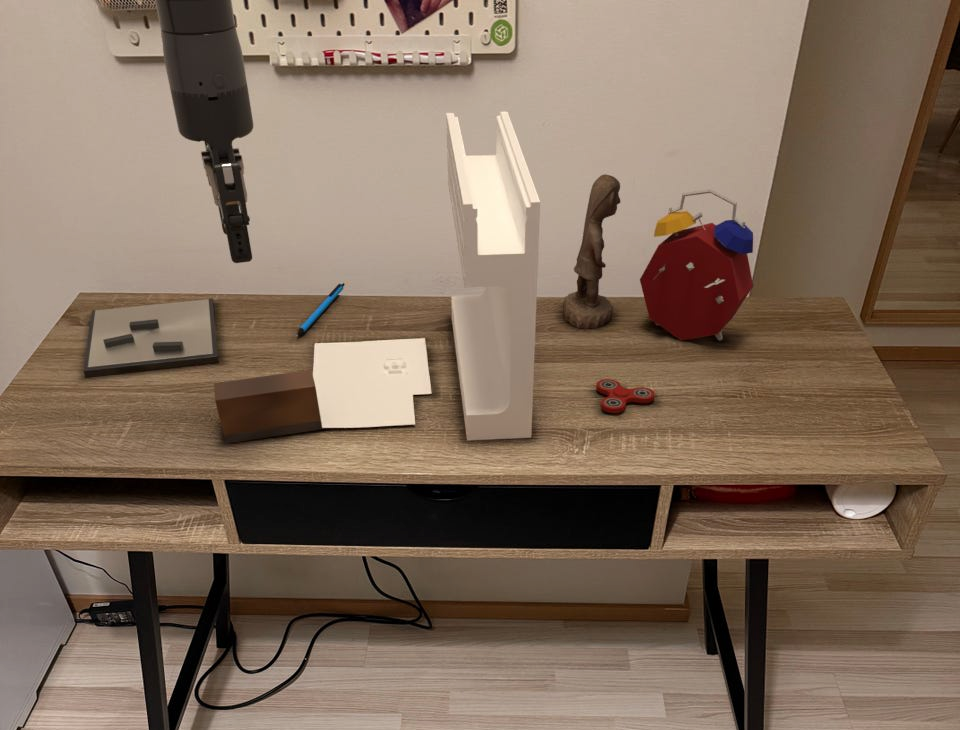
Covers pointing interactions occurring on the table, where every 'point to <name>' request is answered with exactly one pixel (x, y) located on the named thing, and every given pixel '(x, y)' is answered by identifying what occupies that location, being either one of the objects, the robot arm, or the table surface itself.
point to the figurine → (592, 259)
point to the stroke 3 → (167, 346)
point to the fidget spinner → (621, 395)
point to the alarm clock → (697, 273)
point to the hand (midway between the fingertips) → (237, 246)
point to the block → (495, 282)
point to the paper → (370, 382)
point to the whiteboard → (152, 337)
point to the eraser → (268, 406)
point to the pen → (320, 309)
